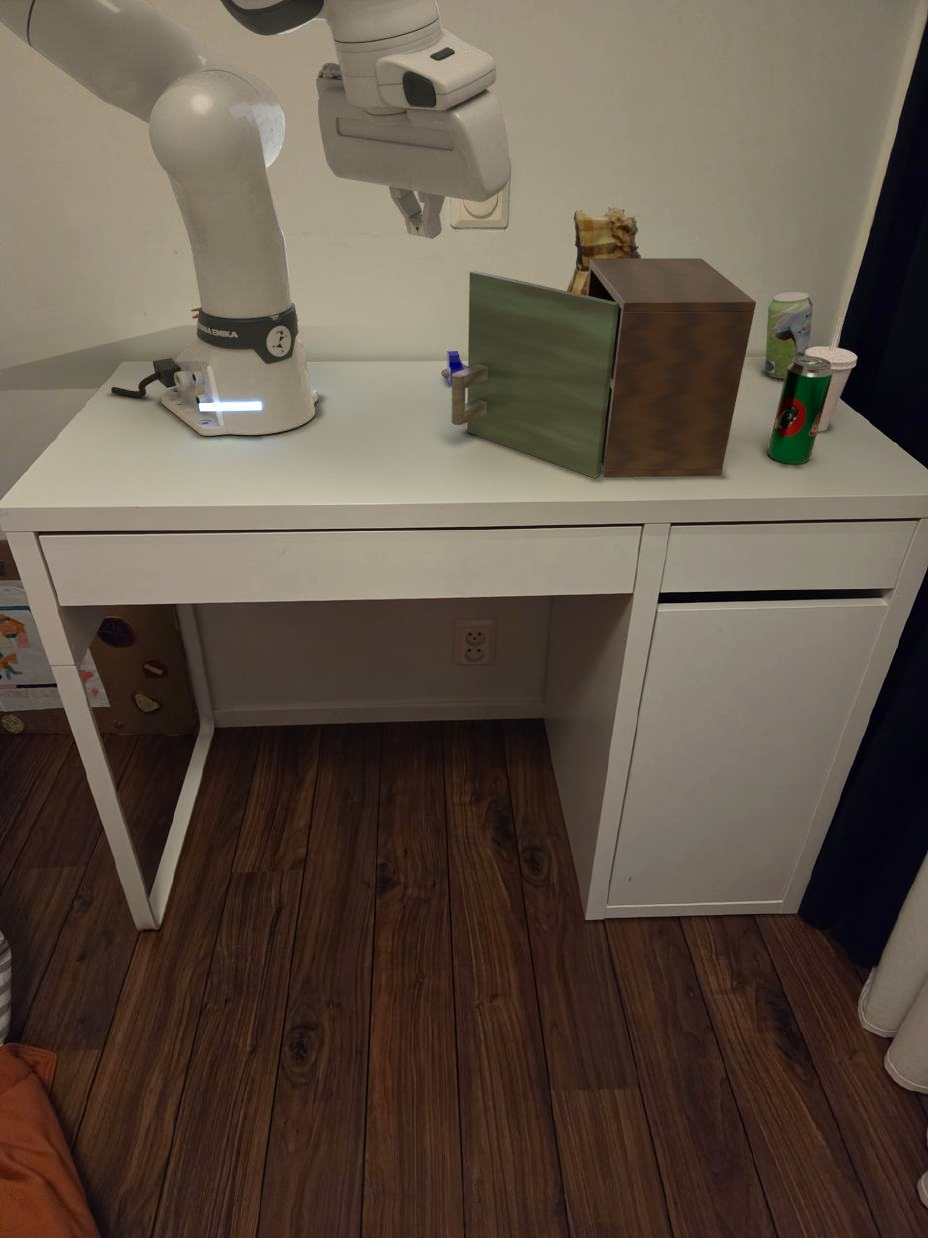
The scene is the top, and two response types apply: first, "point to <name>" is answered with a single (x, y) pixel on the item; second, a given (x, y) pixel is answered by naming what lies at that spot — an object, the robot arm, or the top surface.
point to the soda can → (800, 409)
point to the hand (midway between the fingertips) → (425, 234)
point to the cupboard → (671, 364)
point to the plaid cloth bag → (601, 242)
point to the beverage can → (787, 331)
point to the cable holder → (453, 364)
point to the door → (537, 370)
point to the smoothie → (834, 373)
